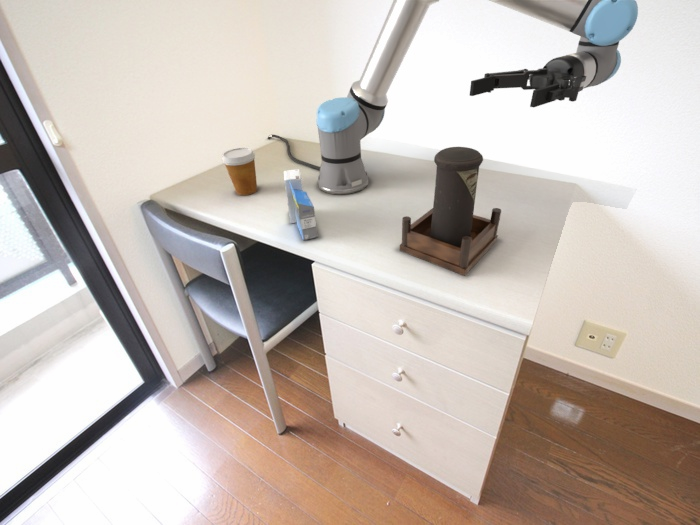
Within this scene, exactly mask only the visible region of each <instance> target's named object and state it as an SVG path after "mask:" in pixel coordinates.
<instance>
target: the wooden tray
mask: <svg viewBox="0 0 700 525" xmlns="http://www.w3.org/2000/svg"><path fill="white" fill-rule="evenodd" d="M432 214H433V207H431V209H429V210H428V211H427V212H425V213H424V214H423V215H421V216H420V217H419V218H417V219H416V220H415V221H413V222H412V217H410V216H407V215H406V216H403V217H402V218H401V243H400V244H399V252H400V251H401V252H402V253H405V254H408V255H410V256H413V257H415V258H418V259H421V260H423V261H426V262H428V263H430V264H432V265H435V266H438V267H441V268H443V269H446V270H448V271H451V272H454V273H456V274H459V275H461V276H463V277H465V276H466V275H467V274H468V273H469V271H471V269H473V267H474V266H475V265H476V264H477V263H478V262H479V261H480V260H481V259H482V258H483V257H484V255H485V254H486V253H487V252H488V251H490V249H491V248H492V247H493V246H494V245H495V244H496V243H497V242H498V237H499V235H497V234H498V229H499V224H500V221H501V220H500V219H501V214H502V209H501V208H499V207H493V208H492V210H491V214H490V215H491V216H490V218H486V217H483V216H479V215H476V214H473V220H472V229H471V237H469V236H464V237H462V242H461V248H459V247H456V246H453V245H450V244H447V243H444V242H442V241H439V240H436V239H433V238H430V231H431V223H432Z"/></svg>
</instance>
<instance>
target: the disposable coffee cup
mask: <svg viewBox="0 0 700 525" xmlns="http://www.w3.org/2000/svg"><path fill="white" fill-rule="evenodd" d="M221 156H222V158H221V162H222V163H223V164H224V166H225V168H226V170H227V173H228V176H229V177H230V180H231V183H232V186H233V187H234V190H235V192H236V194H237V195H239V196H249V195H252V194H254V193H256V192H257V191H258V183H257V172H256V160H255V158H256V153H255V152H254V150H253V149H252V148H250V147H235V148H232V149H228V150H226V151H224V152H223V153H222V155H221Z"/></svg>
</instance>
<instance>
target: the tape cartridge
mask: <svg viewBox="0 0 700 525" xmlns="http://www.w3.org/2000/svg"><path fill="white" fill-rule="evenodd" d="M289 182H290V180H289ZM290 186H291V191H292V196H293V202H294V208H295V214H296V220H297V223H296V225H297V229H298V231H299V234H300V236H301V239H302V241H307V240H308V241H309V240H313V239H316V238H318V237H319V236H318V229H317V228H318V227H317V221H316V211H315V206H314V205H313V203H312V200H311V198H310V196H309V195H308V192H307V191H304V190H303V191H300V190H295V189H293V187H292V185H291V182H290Z"/></svg>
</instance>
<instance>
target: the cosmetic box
mask: <svg viewBox="0 0 700 525" xmlns="http://www.w3.org/2000/svg"><path fill="white" fill-rule="evenodd" d="M283 180H284V187H285V195H286V202H287V207H288V208H287V209H288V214H289V221H290V223H291V224H293V223H294V224H295V223H296V224H297V220H296V214H295V208H294V202H293V196H292V191H291V186H290V182H291V185H292V187H293V189H295V190H300V191H304V188H303V182H302V180H303V179H302V173H301V169H300V168H297V169H288V170H284V171H283ZM289 180H290V182H289Z"/></svg>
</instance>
